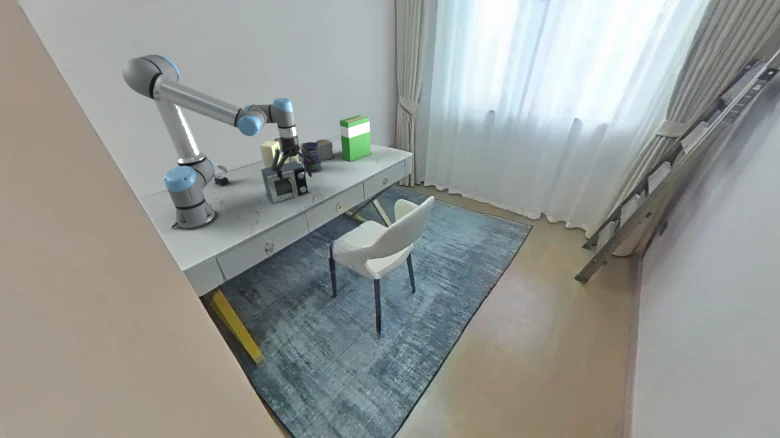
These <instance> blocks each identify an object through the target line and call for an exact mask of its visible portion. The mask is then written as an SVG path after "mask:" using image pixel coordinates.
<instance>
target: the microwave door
mask: <svg viewBox="0 0 780 438" xmlns="http://www.w3.org/2000/svg"><path fill="white" fill-rule="evenodd" d="M282 175H283V179H284V185H283V184H282V183H281V180H280V178H278V176H277V174H275V175H271V176H267V179H268V183H269V188H270V192H271V196H272V200H271V202H272V203H273V204H275V203H279V202H282V201H285V200H289V199H293V198H294V199H297V198H298V197H299V195H298V191H297V185H296V180H295V174H294V171H293V170H291V171H287V172H283V173H282Z"/></svg>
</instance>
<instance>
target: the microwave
mask: <svg viewBox="0 0 780 438" xmlns="http://www.w3.org/2000/svg"><path fill="white" fill-rule="evenodd" d="M291 170H293V171H294V174H295V180H296V185H297V191H298V196H302V195H306V194H308V193H309V189H308V182H307V177H306V171H305V168H304V166H303V165H301V164H299V163H298V162H297V161H294V162H290V163H286V164H285V163H284V164H283V166H282V168H281V171H282V173H283V172H287V171H291ZM260 171H261V175H262V179H263V184H264V187H265V188H264V189H265V192H266V195H267V196H268V198H269V199H270V201H272V196H271V192H270V188H269V183H268V179H267V176H271V175H275V174H277V172H276V171H275V172H274V171H273V170H272V169H271V167H269V168H265V167H264V168H261V169H260Z"/></svg>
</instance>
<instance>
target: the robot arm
mask: <svg viewBox="0 0 780 438" xmlns="http://www.w3.org/2000/svg"><path fill="white" fill-rule="evenodd" d="M180 74H181V73H180V70H179V68H178V67H177V65H176V64H175V62H173V61H172V59H170V58H168V57H166V56H164V55H161V54H146V55H143V56H139V57H134V58H130V59H128V60H126V61H125V62H124V64H123V65H122V69H121V75H122V78H123V80H124V82H125V83H126V85H127V86H128V87H129V88H130V89H132V91H134V92H136V94H139V95H141V96H143V97H146V98H149V99H151V100H153V101H154V103H155V105H156V107H157V110H158V112H159V114H160V116H161V119H162V121H163V123H164V125H165V127H166V130H167V133H168V135H169V137H170V140H171V142H172V144H173V146H174V149H175V151H176V153H177V156H178V157H177V158H176V163H177V165H178V166H177V167H174V168H171V169H169V170H168V171H167V172H165V174H164V176H163V182H164V185H165V188H166V189H167V192H168V193H169V196H170V198H171V200H172V202H173V205H174V207H175V222H174V224H173V225H172V226H171V228H172V229H174V228H175V227H176V226H178V227H179V228H180V229H184V230H192V229H197V228H201V227H204V226H206V225H208V224H210V223H212V222H213V221H214V220H215V219H216V216H217V215H216V212H215V210H214V208H213V207H212V205H211V204H210V203H208V201H207V200H206V198H205V195H204V192H203V190H204V189H205V188H206V187H207V185H209V183H210V182H211V181H212V180H213V179H214V177H213V176H214V174H215V175H216V167H215V166H214V162H213V161H212V159H209V158H208V157H207V154H206V153H205V152H202V151H201V150H200V147H199V145H198V141H197V139H196V137H195V134H194V132H193V129H192V127H191V124H190V122H189V118H188V117H187V114H186V112H185V109H186V110H189V111H191V112H195V113H196V114H200V115H202V116H205V117H207V118H209V119H212V120H216V121H218V122H220V123H223V124H226V125H229V126H231V127H234V128H237V129H238V130H239V131H240V133H241V134H243V136H247V137H255V136H256V135H257V134H259V133H260V132H261V130H262V129H263V128H264V126H265V125H266V124H276V126H277V130H278V137H279V140H280V146H281V147H280V149H275V156H274V160H273V164H272V167H271V169H272V170H273V171H274V172H275V171H276V172H277V176H278V178H280V180H281V183H282V184H283V185H284V179H283V175H282V171H281V168H282V166H283V164H285V161H286V159H287V158H288V157H292V156H296V155H297V154H298V155H300V156H301V159H303V158H304V159H305V160H306V161H307V163H306V164H307V171H308V172H307V175H308V177H309V178H313V175H312V173H311V170H312V163H313V161H315V159H314V157H313V156H312V155H311V153H310V152H309V151H308V149H307V147H306V144H304V143H305V142H301V144H300V143H299V136H298V131H297V125H296V120H295V114H294V113H295V112H294V109H293V104H292V100H291V99H289V98H287V97H280V98H275V99H273V100H272V103H271V104H248V105H247V104H246V105H245V106H244V107H243V108H241V107H239V106H236V105H234V104H232V103H228V102H226V101H224V100H222V99H220V98H216V97H214V96H211V95H208V94H207V93H204V92H201V91H199V90H196V89H194V88H191V87H188V86H186V85H183V84H182V83H179V81H180V77H181V76H180ZM301 148H302V149H304V151H305V152H306V153H307V155H308V156H309V157H310V160H309V159H308V158H306V157H305V156H304V155H303V154H302V152H301ZM299 150H300V152H299ZM280 154H281V157H282V158H281V160H280V161H279V163H278V160H279V156H280ZM277 164H278V165H277Z"/></svg>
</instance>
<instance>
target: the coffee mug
mask: <svg viewBox="0 0 780 438" xmlns="http://www.w3.org/2000/svg"><path fill="white" fill-rule="evenodd" d="M315 143H317V144H318V148H319V159H320V161H327V160H331V159H333V157H334V155H333V142H332V140H331V139H329V138H327V139H326V138H321V139H318V140H316V141H315Z"/></svg>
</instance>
